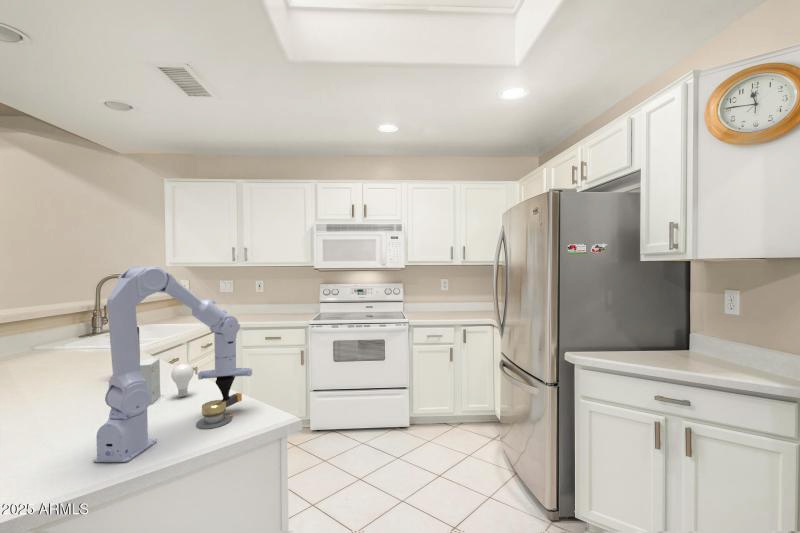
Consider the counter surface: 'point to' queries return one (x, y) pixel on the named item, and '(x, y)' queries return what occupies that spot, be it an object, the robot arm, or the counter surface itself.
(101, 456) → the robot arm
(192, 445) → the counter surface
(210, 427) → the post base
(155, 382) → the small box
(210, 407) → the collar
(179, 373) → the lightbulb
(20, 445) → the counter surface
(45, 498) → the counter surface
